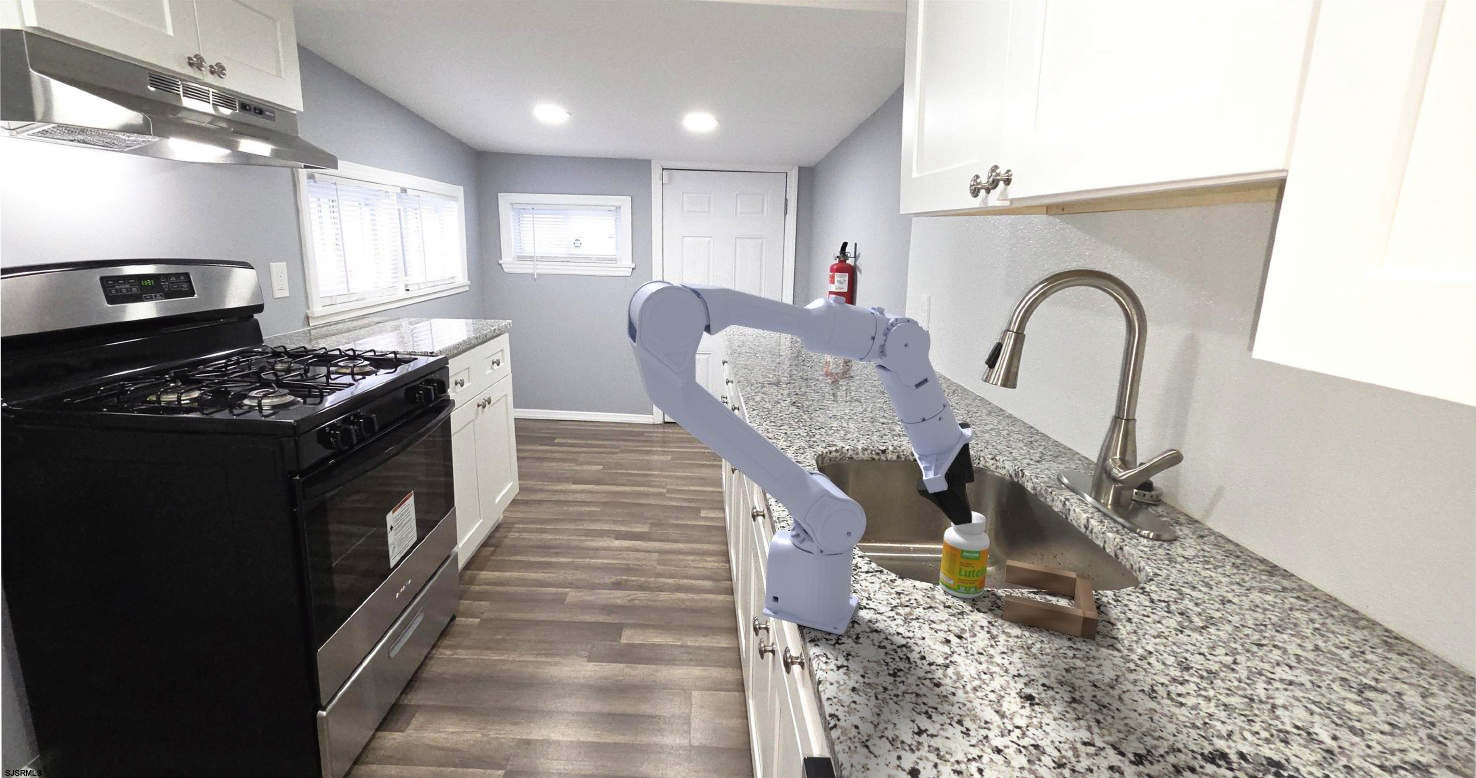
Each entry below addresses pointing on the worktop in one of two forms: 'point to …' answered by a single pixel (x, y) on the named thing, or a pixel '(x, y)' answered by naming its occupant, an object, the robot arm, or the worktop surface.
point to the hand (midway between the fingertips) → (965, 501)
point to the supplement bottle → (965, 558)
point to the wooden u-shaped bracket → (1048, 614)
